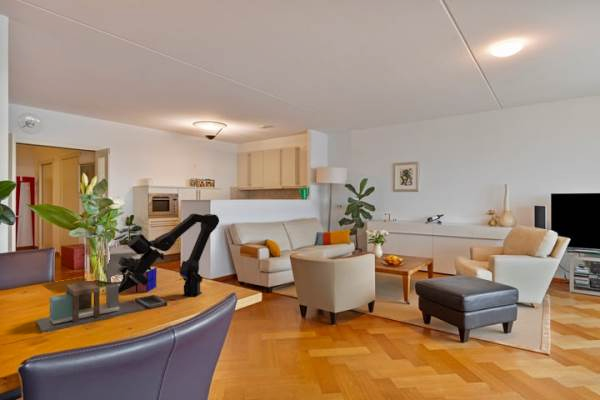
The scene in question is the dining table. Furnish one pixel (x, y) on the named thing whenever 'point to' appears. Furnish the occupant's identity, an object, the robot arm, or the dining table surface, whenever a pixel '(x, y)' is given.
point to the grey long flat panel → (90, 317)
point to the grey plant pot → (118, 259)
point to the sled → (64, 309)
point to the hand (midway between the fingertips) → (117, 292)
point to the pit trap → (151, 302)
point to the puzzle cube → (150, 285)
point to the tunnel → (83, 298)
